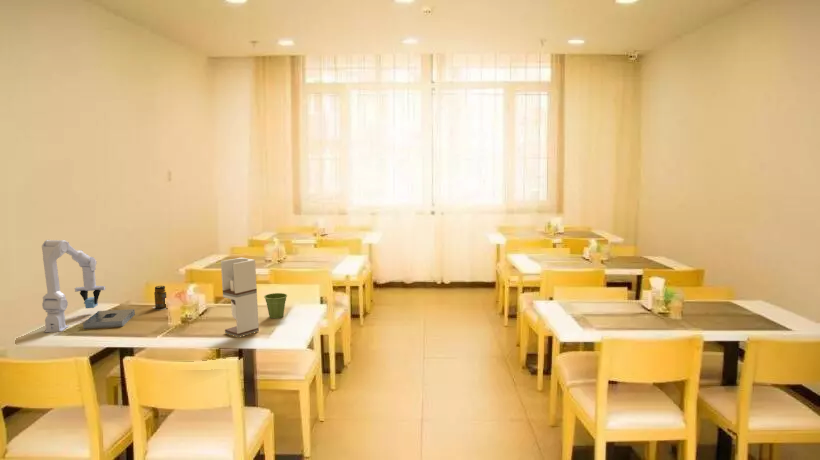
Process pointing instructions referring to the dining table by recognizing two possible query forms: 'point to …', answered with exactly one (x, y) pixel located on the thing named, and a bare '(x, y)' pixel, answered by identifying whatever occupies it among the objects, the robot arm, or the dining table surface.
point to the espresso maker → (241, 294)
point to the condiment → (160, 298)
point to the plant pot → (275, 304)
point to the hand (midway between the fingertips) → (91, 303)
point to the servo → (90, 303)
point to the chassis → (109, 319)
